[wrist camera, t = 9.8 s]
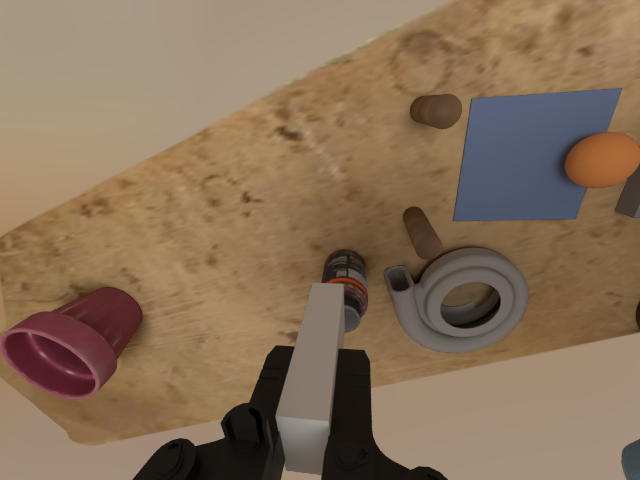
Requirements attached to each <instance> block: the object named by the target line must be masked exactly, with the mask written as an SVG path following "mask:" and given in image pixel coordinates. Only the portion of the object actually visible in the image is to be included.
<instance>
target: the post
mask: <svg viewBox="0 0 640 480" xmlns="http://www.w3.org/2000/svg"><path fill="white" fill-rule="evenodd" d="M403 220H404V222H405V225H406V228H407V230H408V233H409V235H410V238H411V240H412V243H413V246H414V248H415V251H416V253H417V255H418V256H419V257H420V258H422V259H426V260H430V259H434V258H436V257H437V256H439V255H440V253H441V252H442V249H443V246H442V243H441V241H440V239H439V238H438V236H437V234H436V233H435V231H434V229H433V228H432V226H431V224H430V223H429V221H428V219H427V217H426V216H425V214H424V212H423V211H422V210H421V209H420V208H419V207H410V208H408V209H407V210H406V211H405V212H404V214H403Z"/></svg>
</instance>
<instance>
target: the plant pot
mask: <svg viewBox="0 0 640 480" xmlns="http://www.w3.org/2000/svg"><path fill="white" fill-rule="evenodd" d="M141 319H142V313H141V310H140V308H139V306H138V304H137V303H136V302H135V301H134V299H132V298H131V297H130V296H129V295H127V294H126V293H124V292H122V291H120V290H118V289H114V288H101V289H99V290H96V291H94V292H92V293H90V294H88V295H85V296H83V297H81V298H78V299H76V300H74V301H72V302H70V303H68V304H65V305H63V306H61V307H59V308H57V309H55V310H53V311H51V312H39V313H36V314H33V315H31V316H30V317H28V318H27V319H25V320H23V321H22V322H20V323H19V324H17V325H16V326H14V327H13V328H11V329H10V330H8V331H7V332H5V333H4V334H3V335H2V337H1V339H0V349H1V352H2V355H3V356H4V358H5V360H6V361H7V363H8V364H9V365H10V366H11V367H12V368H13V370H14V371H16V372H17V373H18V374H19V375H20V376H21V377H22V378H24V379H25V380H27V381H28V382H29V383H31V384H33V385H34V386H36V387H38V388H39V389H41V390H43V391H46V392H48V393H50V394H53V395H56V396H59V397H63V398H68V399H84V398H88V397H91V396H92V395H94V394H95V393H96V392H97V391H98V390H99V389H100V388H101V387H102V386H103V385H104V384H105V383H106V382H107V381H108V379H109V378H110V377H111V376H112V375H113V374H114V372H115V370H116V368H117V359H118V358H119V356H120V355H121V353H122V351H123V350H124V348H125V347H126V345H127V343H128V342H129V340H130V338H131V337H132V335H133V333H134V332H135V330H136V328H137V326H138V325H139V323H140V321H141Z"/></svg>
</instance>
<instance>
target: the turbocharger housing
mask: <svg viewBox="0 0 640 480" xmlns="http://www.w3.org/2000/svg"><path fill="white" fill-rule="evenodd" d="M384 277H385V281H386V284H387V288H388V290H389V292H390V293H391V297H392V300H393V304H394V307H395V310H396V314H397V317H398V320H399V323H400V324H401V326H402V328H403V330H404V331H405V332H406V333H407V335H408V336H409V337H411V338H412V339H413V340H414V341H416V342H417V343H419V344H420V345H422V346H424V347H426V348H429V349H432V350H435V351H439V352H445V353H463V352H470V351H475V350H479V349H482V348H484V347H487V346H489V345H491V344H493V343H495V342H497V341H499V340H500V339H502V338H503V337H505V336H506V335H507V334H508V333H510V332H511V331H512V330H513V329H514V328H515V327H516V325H517V324H518V323H519V322H520V320H521V318H522V317H523V315H524V313H525V310H526V307H527V304H528V297H529V292H528V286H527V283H526V280H525V278H524V276H523V275H522V273H521V272H520V271H519V270H518V269H517V268H516V267H515V266H514V265H513V264H512V263H511V262H510V261H509V260H507V259H506V258H505V257H504V256H502V255H501V254H499V253H497V252H495V251H492V250H489V249H484V248H464V249H459V250H455V251H452V252H450V253H447V254H445V255H444V256H442V257H440V258H439V259H437V260H436V261H435V262H433V263H432V264H431V265H430V266H429V267H428V268H427V269H426V271H425V272H424V274H423V275H422V277H421V279H420V282H419V283H416V284H414V283H413V280H412V278H411V276H410V274H409V272H408V269H407V268H406V267H404V266H394V267H390V268H388V269H387V270H386V271H385V272H384ZM472 282H481V283H486V284H489V285H491V286H492V287H494V288H495V290H494V292H493V294H492V295H491V296H490V298H489V299H488V300H487V301H486V302H484V303H483V304H482V305H480V306H478V307H476V308H475V305H474V300H473V301H471V302H470V303H468V304H465V305H462V306H457V307H446V306H443V305H441V303H442V301H443V299H444V298H445V296H446V295H447V294H448V293H449V292H450V291H451V290H453V289H454V288H456V287H458V286H460V285H463V284H465V283H472ZM499 298H501V303H500V307H499V308H498V309H497V310H496V311H494V312H493V313H492V314H491V315H489V316H487V317H486V318H484V319H482V320H480V321H477V322H474V323H471V324H467V325H462V324H466V323H470V322H473V321H475V320H477V319H479V318H481V317H483V316H484V315H486V314H487V313H488V312H489V311H491V309H492V308H493V307H494V306H495V305H496V304H497V302H498V300H499ZM454 325H462V326H454Z"/></svg>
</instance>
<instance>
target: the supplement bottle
mask: <svg viewBox="0 0 640 480" xmlns="http://www.w3.org/2000/svg"><path fill="white" fill-rule="evenodd" d="M322 283H335V284H344V315H345V332H350V331H353V330H354V329H356V328H357V327H358V325H359V323H360V318H361V317H362V316H363V315H364V314H365V312H366V310H367V306H368V294H367V280H366V268H365V263H364V261H363V259H362V258H361V257H360V256H359V255H358V254H356V253H354V252H352V251H347V250H342V251H337V252H335V253H333V254H332V255H330V256H329V258H328V259H327V261H326V263H325V266H324V272H323V278H322Z"/></svg>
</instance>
